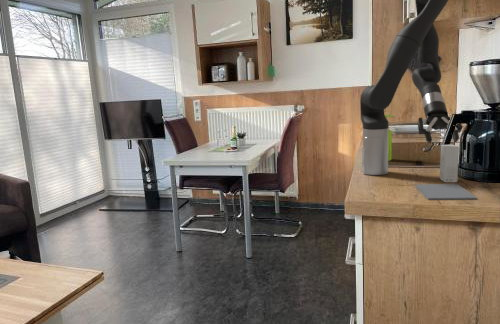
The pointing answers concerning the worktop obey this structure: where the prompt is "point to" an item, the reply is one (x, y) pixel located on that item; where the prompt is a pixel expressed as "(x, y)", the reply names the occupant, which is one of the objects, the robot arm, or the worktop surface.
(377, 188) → the worktop surface
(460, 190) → the rubber mat
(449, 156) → the skincare box
